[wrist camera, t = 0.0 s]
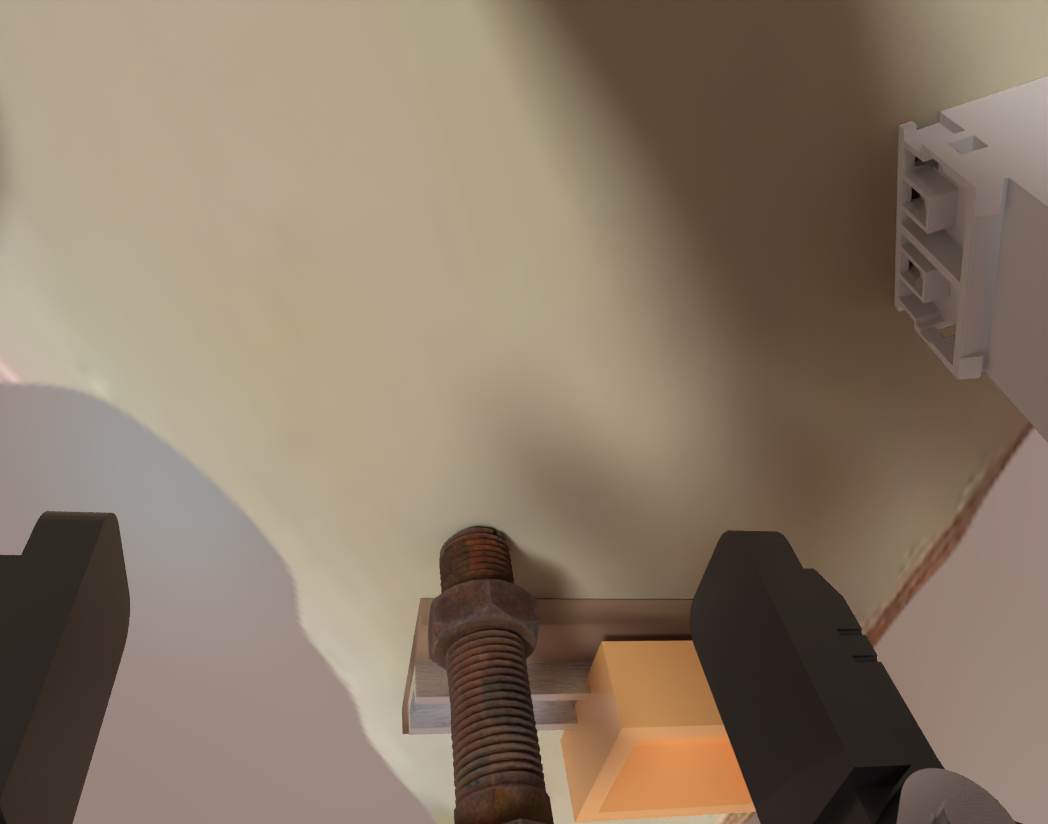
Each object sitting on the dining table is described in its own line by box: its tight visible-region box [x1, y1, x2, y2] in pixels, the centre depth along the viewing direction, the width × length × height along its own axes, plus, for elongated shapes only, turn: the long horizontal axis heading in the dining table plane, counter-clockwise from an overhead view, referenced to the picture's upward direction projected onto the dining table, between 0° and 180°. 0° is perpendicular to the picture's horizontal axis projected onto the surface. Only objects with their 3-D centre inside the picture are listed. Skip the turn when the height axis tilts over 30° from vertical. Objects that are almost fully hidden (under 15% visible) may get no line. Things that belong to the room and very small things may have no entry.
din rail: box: [408, 662, 593, 735], centre depth 43 cm, size 4×20×2 cm, turn 80°
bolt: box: [428, 527, 554, 824], centre depth 32 cm, size 6×5×15 cm
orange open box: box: [561, 641, 756, 822], centre depth 42 cm, size 10×10×4 cm
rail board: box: [402, 599, 693, 734], centre depth 44 cm, size 10×20×2 cm, turn 79°
